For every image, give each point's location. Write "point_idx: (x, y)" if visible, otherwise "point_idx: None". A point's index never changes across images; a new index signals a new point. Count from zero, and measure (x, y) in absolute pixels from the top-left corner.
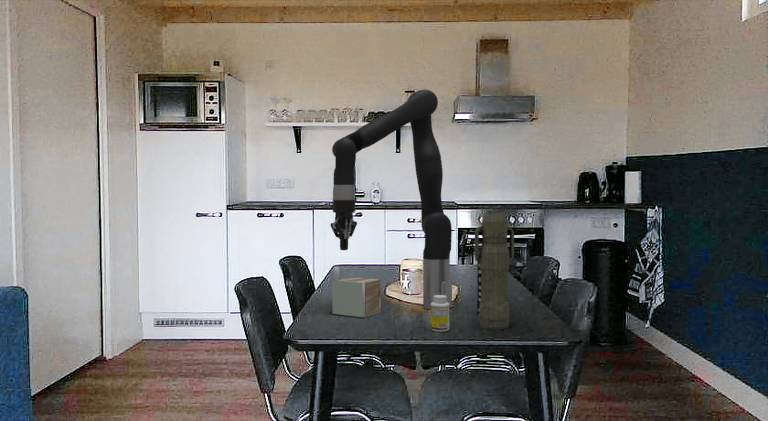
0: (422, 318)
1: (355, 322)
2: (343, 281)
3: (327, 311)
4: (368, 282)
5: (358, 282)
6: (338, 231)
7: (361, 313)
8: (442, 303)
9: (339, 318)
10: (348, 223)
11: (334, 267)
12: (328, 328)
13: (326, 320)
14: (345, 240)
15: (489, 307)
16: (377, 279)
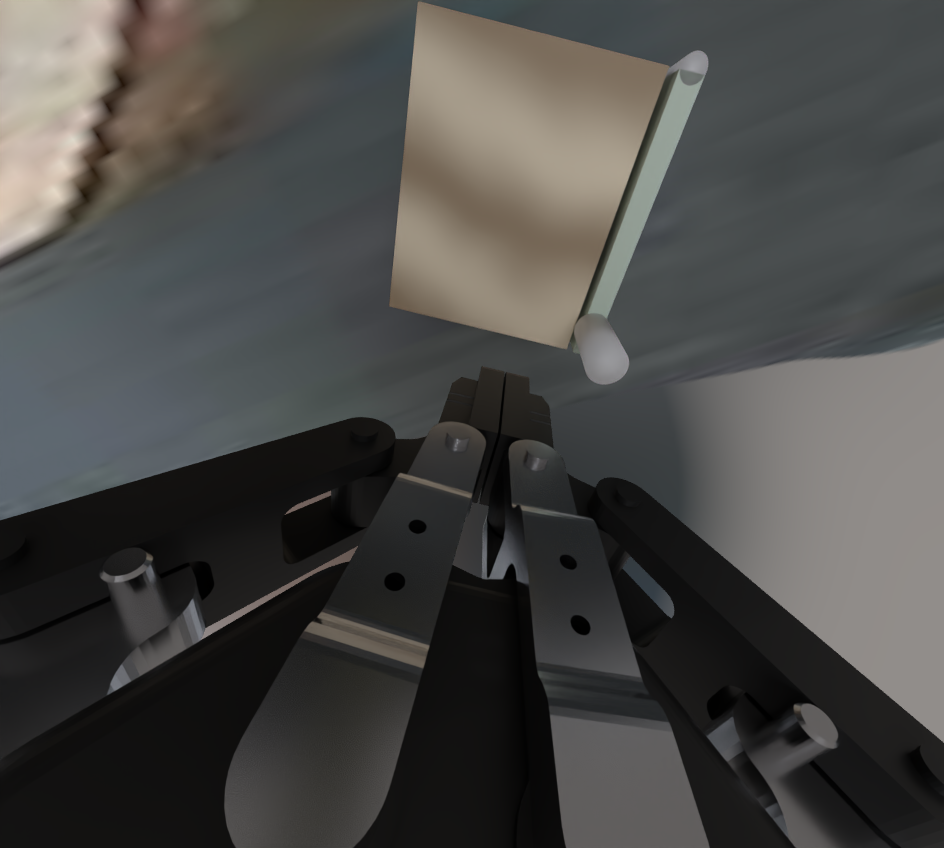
0: None
1: (741, 110)
2: (624, 271)
3: (510, 343)
4: (588, 62)
5: (682, 123)
6: (757, 601)
7: None
8: None
9: (646, 237)
10: (420, 664)
11: (624, 372)
12: (882, 201)
13: (694, 279)
14: (527, 433)
15: None
16: (414, 43)
